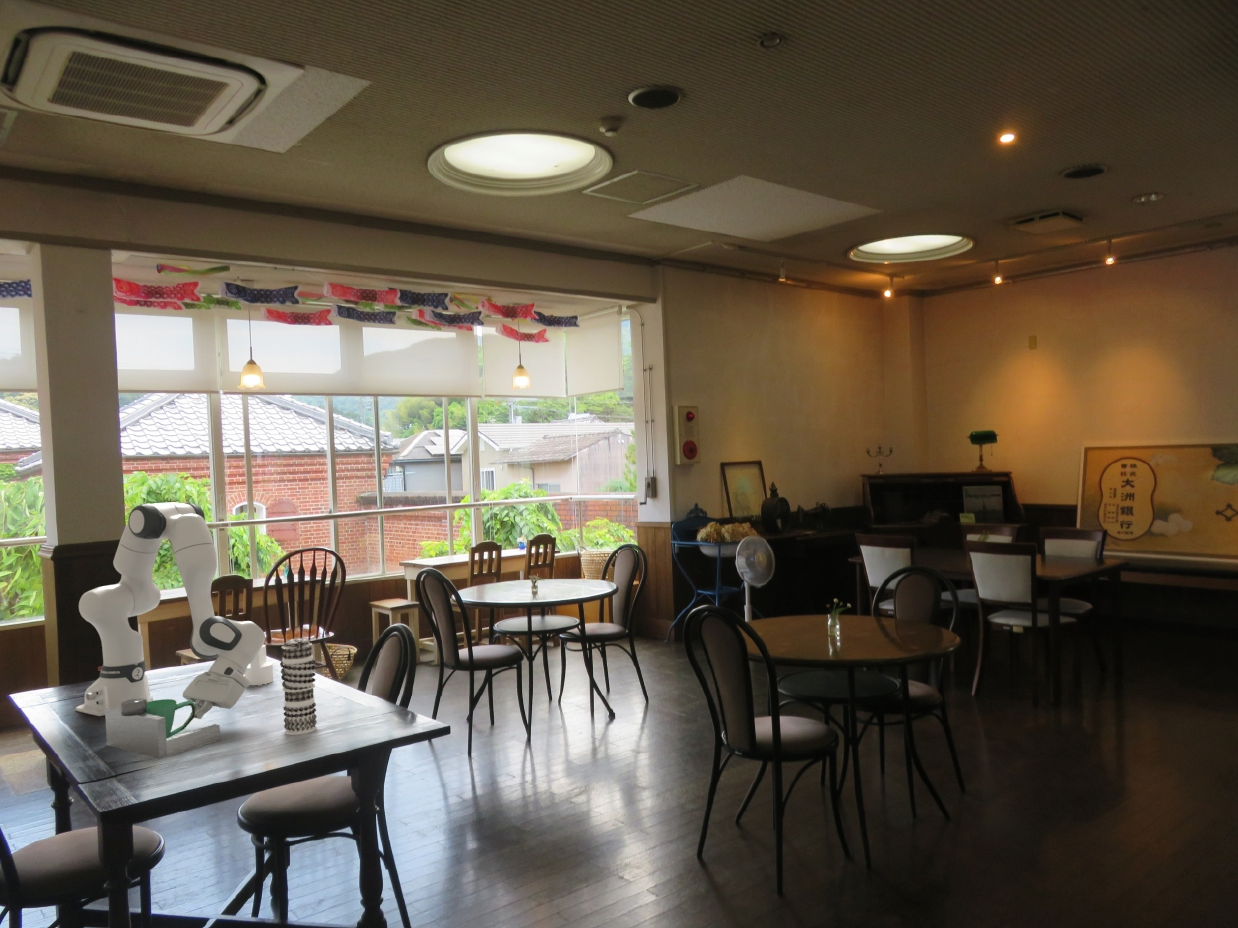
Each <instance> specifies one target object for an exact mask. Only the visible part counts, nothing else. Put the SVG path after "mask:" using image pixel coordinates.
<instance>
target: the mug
mask: <svg viewBox="0 0 1238 928" xmlns="http://www.w3.org/2000/svg"><path fill="white" fill-rule="evenodd" d="M184 707H191V712H192V713H191V712H190V714H191V715H190V714H189V716H188V718H187V719H186V720H185V722H184V723H183V724H182V725H180V726H179V727H178V728H175V729H174V730H172V728H173V725H174V721H175V714H176V711H178V710H179V709H181V708H184ZM195 711H196V704H195V703H194V702H192V701H188V700H186V701H181V702H178V703H177V700H176V699H172V698H169V699H168V698H166V699H155V700H153V701H149V702H147V712H146V714H150V715H155V716H160V717H165V724H166V739H167V738H170V737H173V736H176V735H178V733H180V732H182V731H183V730H185V729H186V728H187V727H188V725H189V724H190V723H191V722H192V721H193V720H194V719H195V718H194V717H195Z"/></svg>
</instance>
